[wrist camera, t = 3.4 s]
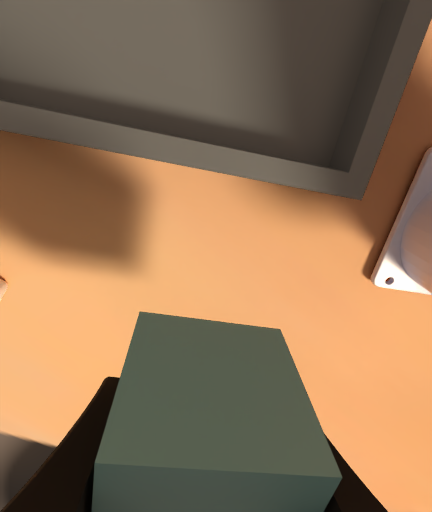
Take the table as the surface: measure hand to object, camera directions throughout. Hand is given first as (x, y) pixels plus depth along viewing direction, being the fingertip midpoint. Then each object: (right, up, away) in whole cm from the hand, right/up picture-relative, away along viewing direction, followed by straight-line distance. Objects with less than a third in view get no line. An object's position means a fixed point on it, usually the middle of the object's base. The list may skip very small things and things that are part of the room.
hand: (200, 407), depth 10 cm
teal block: (0, +1, +1) cm, 2 cm away
